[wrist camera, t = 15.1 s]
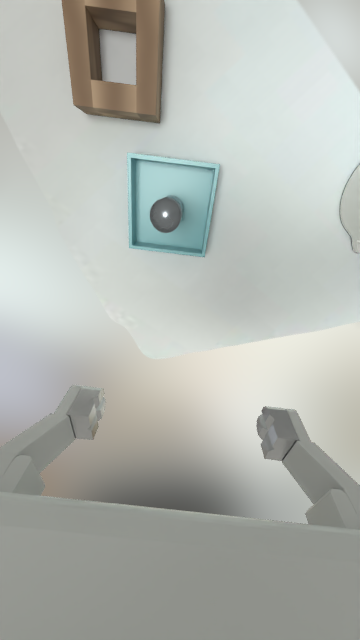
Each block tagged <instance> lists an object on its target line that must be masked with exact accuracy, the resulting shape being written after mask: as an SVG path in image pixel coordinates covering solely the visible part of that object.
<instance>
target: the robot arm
mask: <svg viewBox="0 0 360 640" xmlns="http://www.w3.org/2000/svg"><path fill="white" fill-rule="evenodd" d="M340 216H341V221H342V224H343V226H344V228H345V229H346V231H347V232H348V233H349V234H350V236H351V238H352V247H353V250H354V252H356V253H360V165H359V166H358V167H357V168H356V170H355V171H354V173H353V174H352V176H351V177H350V179H349V181H348V183H347V185H346V187H345V190H344V192H343V195H342V199H341V205H340ZM103 396H104V389H102V388H94V387H87V386H80V385H72V386H71V387H70V388H69V390H68V392H67V393H66V395H65V396H64V398H63V400H62V401H61V403H60V405H59V406H58V408H57V409H56V411H55V413H54V414H49V415H48V416H46V417H45V418H43V419H42V420H40V421H39V422H37V423H36V424H34V425H33V426H31V427H30V428H29V429H27V430H25V431H24V432H22V433H21V434H19V435H18V436H16V437H15V438H13V439H12V440H11V441H9V442H7V443H6V444H5V445H3V446H1V447H0V640H360V485H359V484H358V483H357V482H356V481H355V480H353V479H352V478H351V477H350V476H349V475H348V474H347V473H346V472H345V471H344V470H343V469H342V468H341V467H340V466H339V465H338V464H337V463H335V462H334V461H333V460H332V459H331V458H330V457H329V456H328V455H327V454H326V453H325V452H324V451H323V450H322V449H321V448H320V447H319V446H317V445H316V444H315V443H313V442H311V440H310V438H309V436H308V434H307V432H306V430H305V428H304V425H303V423H302V421H301V419H300V417H299V415H298V413H297V411H296V410H293V409H284V408H276V407H266V406H265V407H263V409H262V415H260V416H259V417H258V419H257V432H258V435H259V436H260V438H261V439H262V440H263V441H262V443H261V447H262V450H263V454H264V458H265V459H271V460H278V461H282V463H283V464H284V466H285V467H286V468H287V470H288V471H289V472H290V474H291V475H292V476H293V477H294V479H295V480H296V481H297V483H298V484H299V485H300V487H301V488H302V490H303V491H304V492H305V493H306V495H307V496H308V498H309V499H310V500H311V502H312V503H313V504H314V505H313V506H312V507H311V508H309V509H308V511H307V512H306V514H305V515H306V517H307V520H308V524H302V523H292V522H283V521H274V520H264V519H255V518H246V517H245V518H244V517H236V516H227V515H216V514H208V513H199V512H189V511H180V510H171V509H161V508H152V507H142V506H132V505H124V504H114V503H105V502H95V501H85V500H76V499H67V498H58V497H48V496H41V494H42V492H43V490H44V488H45V483H44V481H43V479H42V477H41V476H40V472H42V471H43V470H44V469H45V468H46V467H47V466H48V465H49V464H50V463H51V462H52V461H53V460H54V459H55V458H56V457H57V456H58V455H60V454H61V453H62V451H64V450H65V449H66V448H67V447H68V446H69V445H70V444H71V443H72V442H73V441H74V440H75V438H77V439H89V440H93V439H94V436H95V434H96V431H97V429H98V421H99V420H100V419H101V418H102V416H103V414H104V410H105V403H106V401H105V398H104V397H103Z"/></svg>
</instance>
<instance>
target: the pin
mask: <svg viewBox="0 0 360 640" xmlns="http://www.w3.org/2000/svg"><path fill="white" fill-rule="evenodd" d="M183 212H184V206H183V203H182V201H181V200H180V199H179V198H178V197H177V196H174V195H169V196H166V197H164V198H162V199H159V200H157V201H156V202H155V203H154V204H153V205H152V207H151V210H150V220H151V223H152V225H153V226H154V228H155V229H156V230H158V231H160V232H162V233H169V232H172V231H174V230H175V229H176V228H177V227H178V225H179V223H180V221H181V218H182V215H183Z"/></svg>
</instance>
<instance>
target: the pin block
mask: <svg viewBox="0 0 360 640" xmlns="http://www.w3.org/2000/svg"><path fill="white" fill-rule="evenodd" d="M62 7H63V16H64V25H65V34H66V42H67V51H68V60H69V69H70V78H71V86H72V95H73V104H74V106H76V107H77V108H79V109H80V110H82V111H83V112H85V113H86V114H91V115H99V116H107V117H115V118H123V119H130V120H138V121H146V122H154V123H160V109H161V85H162V61H163V38H164V14H165V2H164V0H62ZM99 29H106V30H114V31H121V32H129V33H136V85H130V84H122V83H114V82H106V81H102V74H101V57H100V41H99Z"/></svg>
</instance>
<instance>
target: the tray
mask: <svg viewBox="0 0 360 640" xmlns="http://www.w3.org/2000/svg"><path fill="white" fill-rule="evenodd" d="M127 167H128V218H129V248H133V249H141V250H149V251H158V252H166V253H174V254H182V255H191V256H199V257H205V251H206V245H207V239H208V233H209V227H210V221H211V215H212V209H213V203H214V197H215V191H216V185H217V179H218V173H219V167H220V164H213V163H205V162H197V161H189V160H181V159H173V158H166V157H158V156H150V155H142V154H134V153H127ZM169 195H174V196H177V197H178V198H179V199H180V200H181V201H182V203H183V206H184V212H183V215H182V218H181V221H180V223H179V225H178V227H177V228H176V229H175V230H174V231H172V232H169V233H162V232H160V231H158V230H156V229H155V228H154V226H153V225H152V223H151V220H150V210H151V207H152V205H153V204H154V203H155V202H156V201H157V200H159V199H162V198H164V197H166V196H169Z"/></svg>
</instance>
